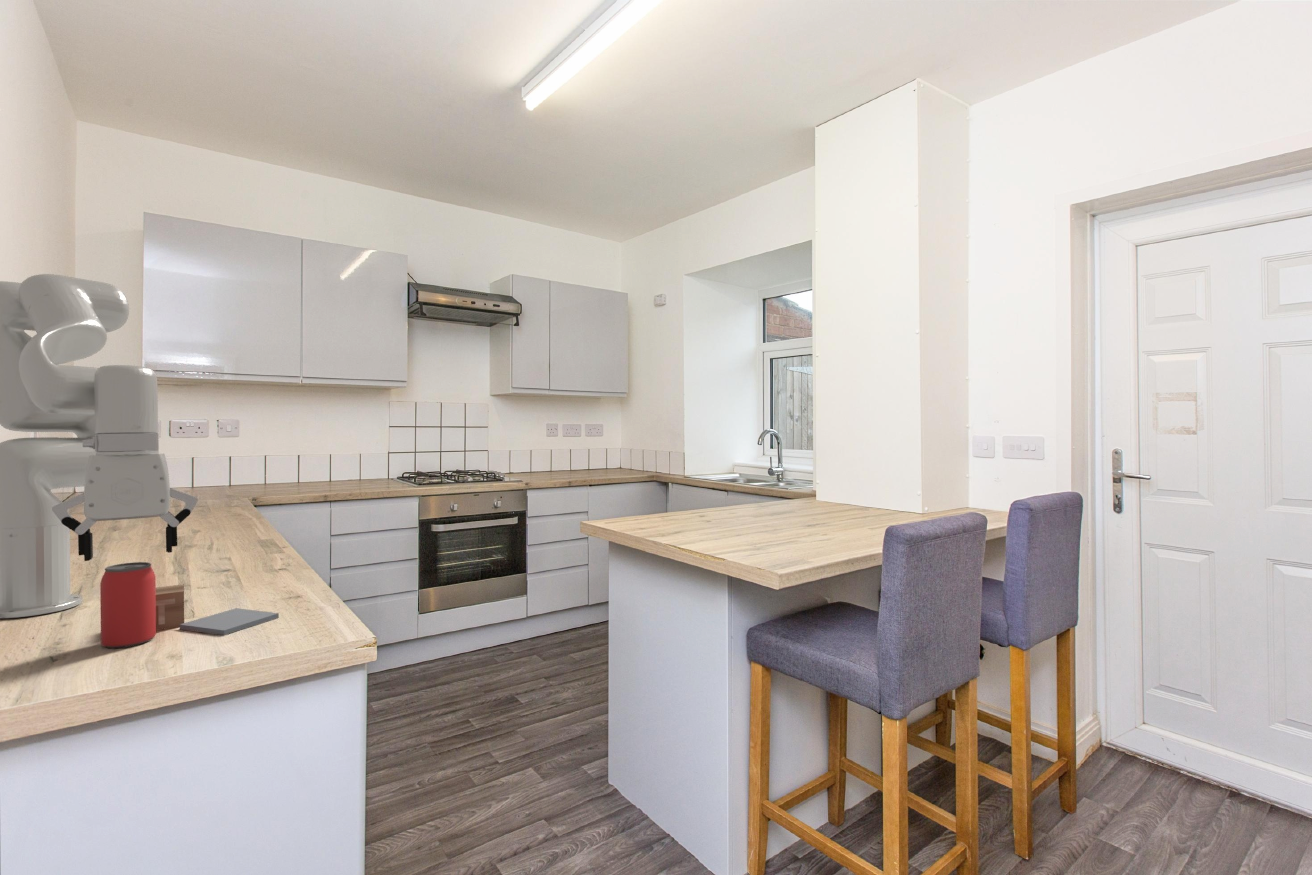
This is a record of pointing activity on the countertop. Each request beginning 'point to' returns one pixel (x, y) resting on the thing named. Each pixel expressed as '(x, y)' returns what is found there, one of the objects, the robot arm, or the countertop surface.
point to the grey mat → (229, 621)
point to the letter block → (169, 606)
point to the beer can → (128, 605)
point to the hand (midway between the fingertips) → (130, 555)
